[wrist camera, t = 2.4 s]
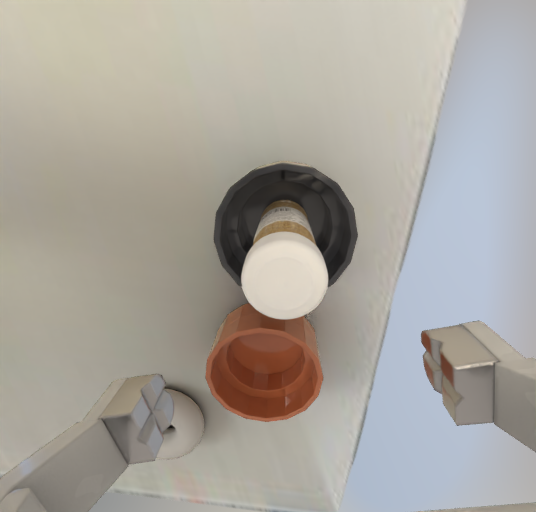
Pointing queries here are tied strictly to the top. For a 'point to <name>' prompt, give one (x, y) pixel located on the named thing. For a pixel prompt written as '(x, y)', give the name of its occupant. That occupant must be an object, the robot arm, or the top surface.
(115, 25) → the top surface
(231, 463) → the top surface
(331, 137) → the top surface
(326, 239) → the charcoal bowl
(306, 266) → the sprinkles bottle
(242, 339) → the terracotta bowl
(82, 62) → the top surface
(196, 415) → the donut
